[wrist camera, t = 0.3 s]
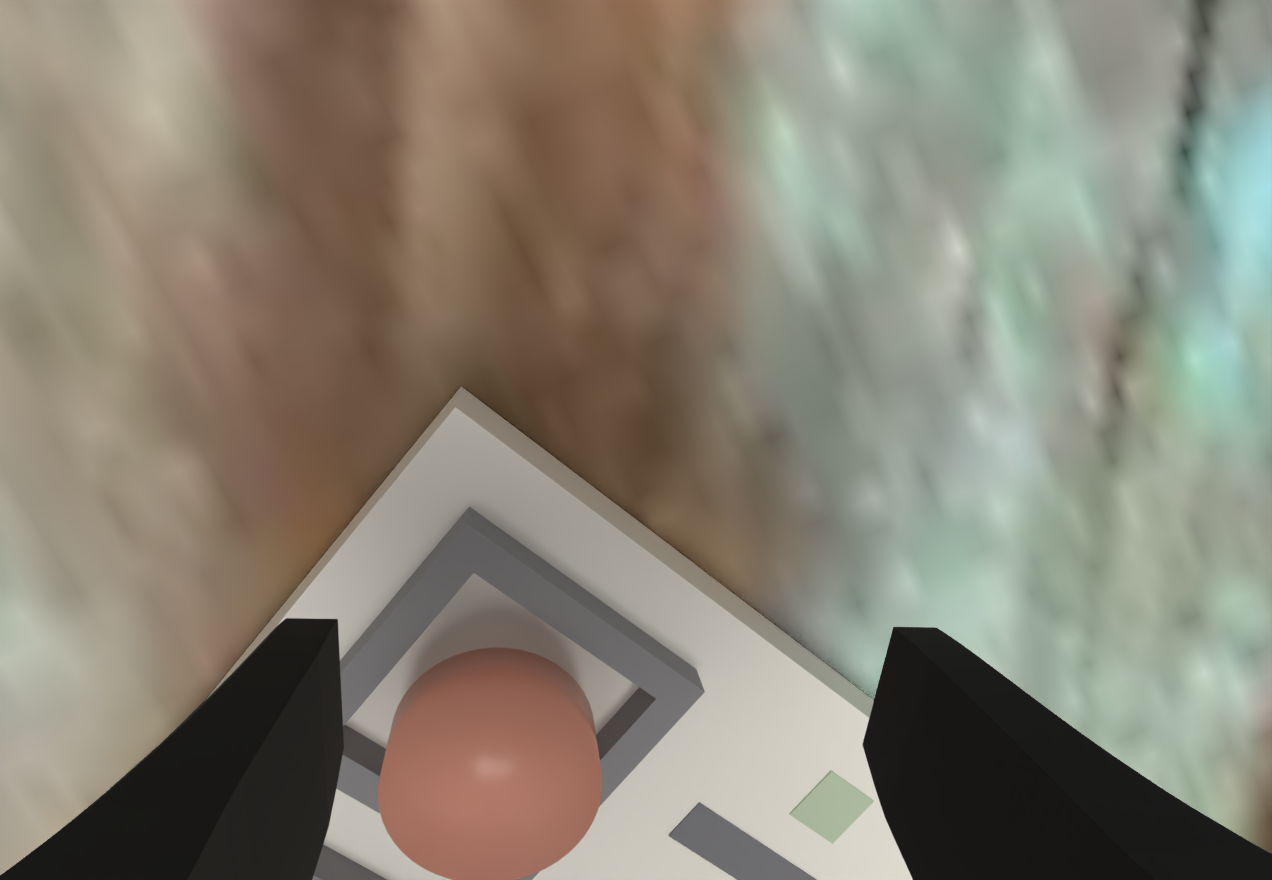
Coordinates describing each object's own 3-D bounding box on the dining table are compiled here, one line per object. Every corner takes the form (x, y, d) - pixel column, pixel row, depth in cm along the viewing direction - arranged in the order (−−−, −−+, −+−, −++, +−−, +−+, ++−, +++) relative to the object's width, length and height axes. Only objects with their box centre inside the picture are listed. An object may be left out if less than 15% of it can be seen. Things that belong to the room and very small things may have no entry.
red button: (510, 854, 20) (510, 917, 18) (348, 758, 19) (331, 816, 17) (635, 717, 19) (646, 769, 18) (476, 609, 18) (471, 653, 16)
